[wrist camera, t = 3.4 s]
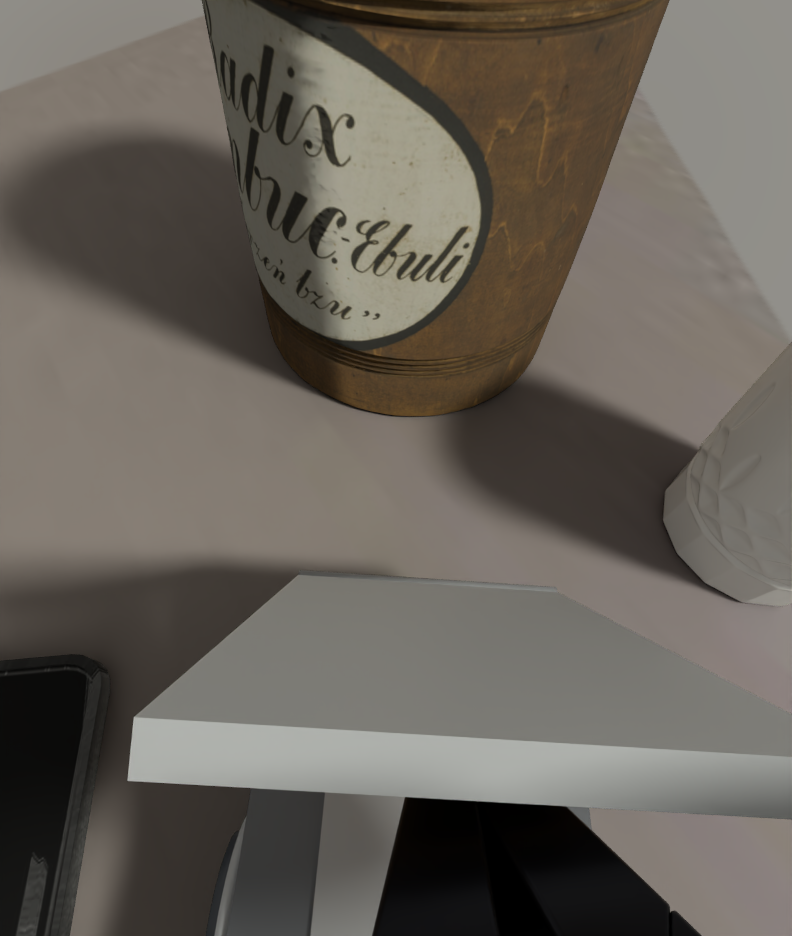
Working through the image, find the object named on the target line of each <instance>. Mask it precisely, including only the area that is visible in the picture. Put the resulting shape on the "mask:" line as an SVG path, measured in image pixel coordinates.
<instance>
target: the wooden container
mask: <svg viewBox="0 0 792 936" xmlns="http://www.w3.org/2000/svg"><path fill="white" fill-rule="evenodd" d="M668 3H669V0H202V4H203V9H204V14H205V19H206V24H207V29H208V34H209V39H210V44H211V49H212V53H213V58H214V63H215V68H216V73H217V78H218V83H219V88H220V93H221V98H222V103H223V108H224V114H225V119H226V124H227V130H228V136H229V141H230V147H231V152H232V158H233V164H234V169H235V173H236V178H237V183H238V188H239V194H240V198H241V203H242V208H243V213H244V218H245V222H246V227H247V231H248V236H249V240H250V244H251V249H252V253H253V258H254V262H255V266H256V270H257V272H258V276H259V281H260V286H261V291H262V295H263V299H264V304H265V308H266V313H267V317H268V321H269V325H270V329H271V332H272V336H273V339H274V341H275V343H276V345H277V347H278V349H279V351H280V352H281V354H282V356H283V358H284V359H285V360H286V362H287V363H288V364H289V365H290V366H291V368H292V369H293V370H294V371H295V372H296V373H297V374H298V375H299V376H300V377H301V378H302V379H304V380H305V381H306V382H308V383H309V384H311V385H312V386H313V387H315V388H317V389H318V390H320V391H322V392H323V393H325V394H327V395H329V396H331V397H332V398H334V399H337V400H339V401H341V402H344V403H346V404H349V405H351V406H354V407H357V408H361V409H365V410H368V411H372V412H378V413H382V414H390V415H396V416H430V415H440V414H446V413H450V412H454V411H458V410H462V409H465V408H469V407H472V406H475V405H477V404H479V403H482V402H484V401H486V400H488V399H490V398H492V397H494V396H496V395H498V394H499V393H500V392H501V391H503V390H505V389H506V388H508V387H509V386H510V385H511V384H512V383H514V382H515V381H516V380H517V379H518V378H519V377H520V376H521V375H522V374H523V372H524V371H525V370H526V368H527V367H528V365H529V364H530V362H531V361H532V359H533V357H534V355H535V353H536V351H537V348H538V346H539V344H540V341H541V339H542V337H543V334H544V332H545V329H546V327H547V324H548V322H549V319H550V317H551V314H552V312H553V309H554V307H555V304H556V302H557V299H558V297H559V295H560V293H561V290H562V288H563V286H564V283H565V281H566V279H567V276H568V274H569V271H570V269H571V266H572V264H573V261H574V259H575V256H576V253H577V251H578V248H579V246H580V243H581V241H582V238H583V236H584V233H585V231H586V228H587V225H588V223H589V220H590V217H591V215H592V212H593V209H594V207H595V204H596V201H597V199H598V196H599V193H600V190H601V188H602V185H603V182H604V179H605V176H606V173H607V170H608V168H609V165H610V162H611V159H612V156H613V154H614V151H615V148H616V145H617V143H618V140H619V137H620V134H621V131H622V128H623V126H624V123H625V120H626V117H627V114H628V112H629V109H630V106H631V104H632V101H633V98H634V95H635V93H636V90H637V87H638V85H639V82H640V79H641V76H642V73H643V71H644V68H645V65H646V63H647V60H648V57H649V54H650V52H651V49H652V46H653V43H654V40H655V38H656V35H657V32H658V29H659V27H660V24H661V21H662V19H663V16H664V14H665V11H666V8H667V5H668Z"/></svg>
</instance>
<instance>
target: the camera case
mask: <svg viewBox="0 0 792 936" xmlns="http://www.w3.org/2000/svg"><path fill="white" fill-rule="evenodd" d="M404 799H405V797H397V796H380V795H363V794H345V793H328V792H311V791H294V790H276V789H259V788H251V792H250V798H249V804H248V810H247V816H246V817H245V819H244V821H243V824H242V826H241V829H240V831H236V832H235V833H234V835H233V836H232V838H231V840H230V842H229V845H228V847H227V850H226V853H225V855H224V858H223V862H222V865H221V868H220V872H219V875H218V879H217V883H216V887H215V891H214V895H213V900H212V904H211V909H210V914H209V920H208V925H207V931H206V936H372V933H373V929H374V925H375V920H376V916H377V912H378V908H379V904H380V899H381V895H382V891H383V887H384V883H385V878H386V874H387V870H388V866H389V862H390V857H391V853H392V849H393V845H394V841H395V836H396V832H397V828H398V824H399V820H400V815H401V811H402V807H403V803H404ZM567 807H568V808H569V809H570V810H571V811H572V812H573V813H574V814H575V815H576V816H577V817H578V818H579V819H580V820H581V821H582V822H584V823H585V824H586V825H587V826H588V827H589V828H590V829H591V821H590V812H589V808H587V807H570V806H567ZM591 830H592V829H591Z"/></svg>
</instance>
